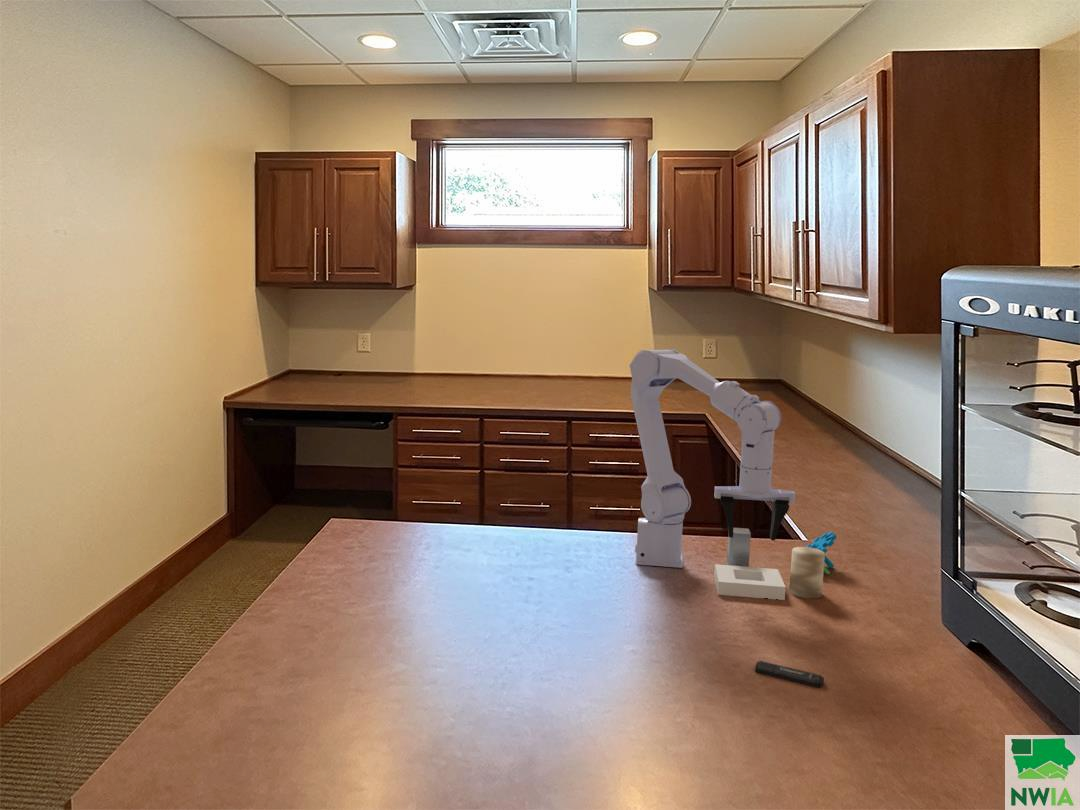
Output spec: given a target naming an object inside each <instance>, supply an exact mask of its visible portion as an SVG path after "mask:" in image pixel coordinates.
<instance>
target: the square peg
mask: <svg viewBox="0 0 1080 810" xmlns="http://www.w3.org/2000/svg"><path fill="white" fill-rule="evenodd" d="M727 535H728V534H727ZM751 539H752V534H751V531H750V529H749V528H742V527H733V537H729V535H728V536H727V551H726V564H727V565H731V566H744V567H750V566H749V565H750V554H751V552H750V551H751Z"/></svg>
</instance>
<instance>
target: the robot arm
mask: <svg viewBox="0 0 1080 810" xmlns="http://www.w3.org/2000/svg"><path fill="white" fill-rule="evenodd" d="M629 369H630V375H631V385H630V398H631V403H632V408H633V412H634V417H635V421H636V427H637V432H638V436H639V441H640V445H641V450H642V454H643V455H642V456H643V460H644V464H645V470H646V474H647V476H646V478H645V480H644V481H643V483H642V484H641V487H640V490H641V500H640V508H641V511H642V513H643V515H644V516H645V517H639V518H638V520H637V535H636V536H637V537H636V543H635V546H634V547H635V548H634V553H636V556H635V559H636V560H635V564H636V565H640V566H651V567H652V566H654V567H655V566H656V567H667V568H677V569H678V568H679V569H681V568H682V569H683V567H684V560H683V554H682V544H683V543H682V542H683V527H684V526H683V524H684V522H683V521H684V519H685V514H686V513H687V512H688V511H689V510H690V508H691V505H692V499H691V495H690V492H689V491H688V489H687V488H686V486H685V483H684V479H683V478H682V477H681V475H679V474H678V473H677V472H676V470H674V466H673V461H672V460H673V459H672V455H671V452H670V446H669V443H668V437H667V432H666V428H665V427H666V426H665V423H664V419H663V414H662V409H661V404H660V400H659V397H660V395H661V393H662V392H663V391H664V389H665V388H666V387H667V386H669V385H670V384H672V382H673V381H674V380H676V379H679V380H681V381H682V382H684V383H686V384H688V385H690V386H691V387H693V388H694V389H696V390H698V391H699V392H701V393H703V394H705V395H706V396H708V397H709V399H710V400H709V401H710V404H711V406H712V407H714V408H715V409H717V410H718V411H720V412H721V413H723V414H724V415H726V416H727V417H729V418H730V419H731V420H733V421H735V422H736V423H737V426H738V429H739V430H740V432H741V452H740V453H741V455H740V467H739V480H738V481H739V484H738V486H737V485H734V486H733V485H732V486H731V485H730V486H724V485H723V486H722V485H721V486H715V485H714V494H713V495H714V499H719V500H720V504H721V506H722V509H723V511H724V515H725V519H726V524H727V532H728V533H727V535H729V537H733V528H734V516H735V509H736V508H735V507H736V505H735V500H749V501H750V500H751V501H763V502H765V501H767V502H771V522H770V523H771V524H770V530H769V538H770V540H771V541H776V538H777V537H776V536H777V535H778V531H779V528H780V526H781V524H782V522H783V519H784V518H785V516H786V515H787V513H788V512H789V509H790V504H795V503H796V492H795V491H794V490H785V489H780V488H779V489H777V488H776V489H775V488H772V485H771V484H772V475H773V464H774V463H773V462H774V445H775V431H776V430H777V429H778V428H779V427H780V426H781V423H782V422H781V421H782V412H781V411H780V409H779V407H778V406H777V405H776V404H775V403H774V401H771V400H763V401H761V400H760V397H759V396H758V395H757V394H750V393H749V392H747V391H746V390H744V389H743V388H742V387H740V385H741V384H740V383H739V382H738V381H735V380H731V381H730V380H723V381H721V382H720V381H719V380H718V379H716V378H715V377H714V376H713V375H710V374H709V373H708V372H706V371H705V370H704V369H703V368H701V367H700V366H699V365H697V364H696V363H694V362H693V361H691V360H690V359H689V358H688V356H686V354H683V353H680V352H679V351H678V350H676V349H674V348H668V349H655V350H654V349H653V350H652V349H641V350H640V351H638V352H637V353H636V354H635V356H634V357H633V358H632V361H631V362H630V364H629ZM734 499H735V500H734Z"/></svg>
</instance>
